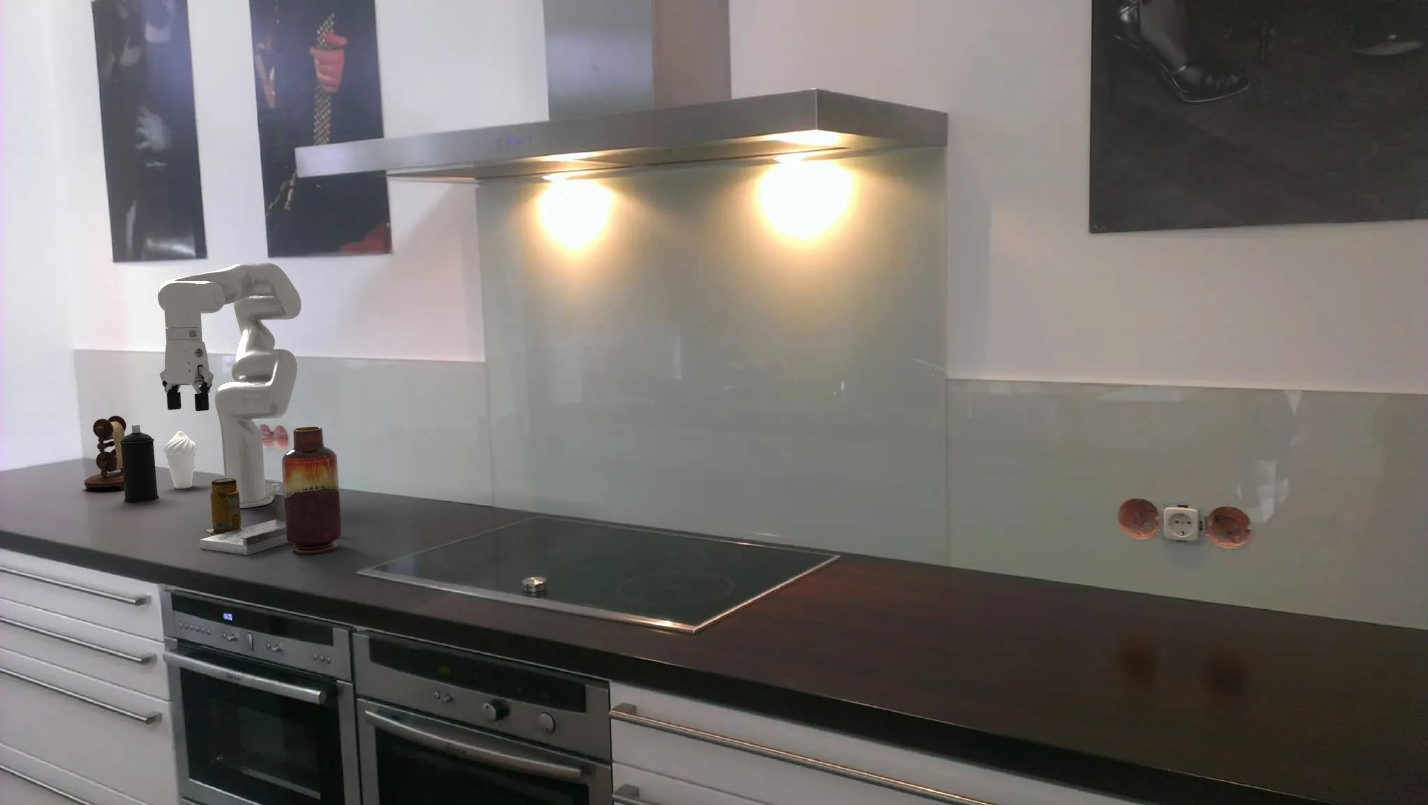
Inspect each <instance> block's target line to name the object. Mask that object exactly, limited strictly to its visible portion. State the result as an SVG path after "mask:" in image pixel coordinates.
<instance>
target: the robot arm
mask: <svg viewBox="0 0 1428 805" xmlns="http://www.w3.org/2000/svg"><path fill="white" fill-rule="evenodd" d="M157 300H158V301H157V302H158V305H159V306H160V308H161V309H162V310H163V311H164V323H165V324H164V325H165V326H164V327H165V331H164V332H165V352H164V370H163V371H161V372H160V373H159V377H160V380H161V381H162V383H161V385H162V386H163V388H164V393H166V406H167V408H166V409H167V410H168V411H174V410H181V409H182V396H181V391H179V390H180V388H181V387H182V386H192V388H193V389H194V391H195V393H194V409H195V411H196V412H206V411H209V410H210V399H209V397H210V396H209V394H210V393H211V387H212V386H213V381H214V378H215V375H214V373H213V372H211V371H210V365H209V364H210V363H209V356H208V351H207V348H206V344H205V341H203V332H202V331H203V328H202V327H203V326H202V325H203V324H202V314H213V313H217V312H219V311H220V310H222V308H223V307H224V306H225V305H231V304H233V309H234V315H235V318H236V321H237V324H238V328H239V331H240V340H239V344H238V347H237V350H236V353H235V356H234V360H233V362H232V365H231V377H232V379H233V381H231V382H227V383H224V384H222V385H220V386H219V387H218V388H217V389H216V391H215V394H214V403H215V408H216V412H217V416H218V420H219V425H220V426H219V427H220V431H221V432H220V433H221V443H222V444H221V446H222V447H221V448H222V459H223V473H224V475H223V476H224V477H223V478H234V479H236V481H237V482H236V485H237V490H238V491H239V498H240V509H248V508H254V507H255V508H256V507H259V506H265V505H268V504H271V503H272V502H273V500H274V499H273V496H271V495H270V494H271V493H272V492H277V491H279V490H280V489H281V485H280V484H279V482H278V483H277V482H275V483H272V484H269V483H266V476H265V475H266V474H265V462H264V445H263V444H264V442H263V435H262V434H263V433H261V430H260V429H259V427H258V426H257V424H256V423H255V421H253V420H260V419H261V420H262V419H263V420H270V419H278V418H282V417H284V415H285V414H286V412H287V410H288V407H289V404H290V401H291V397H292V394H293V391H294V386H295V383H296V380H297V375H298V374H297V373H298V364H297V358H296V357H295V354H294V353H292V351H290V350H288V349H285V348H275V347H276V346H275V344H276V339H275V336H274V335H273V333H272V332H271V331H270V329H269V328H267V326H265V324H264V323H263V320H265V321H268V320H269V321H271V320H274V321H275V320H276V321H277V320H278V321H279V320H280V321H281V320H292V319H295V318H297V317H298V316H299V314H300V313H301V310H302V301H301V300H302V298H301V296H300V294H299V292H298V290H297V288H296V287H295V285H294V284H293V283H292V281H291V279H290V278H289V277H288V275H287V274H286V273H285V271H284V270H283V269H282V268H281V267H280V266H278V265H277V264H274V263H271V262H267V263H259V262H257V263H236V264H234V265H231V266H228V267H226V268H222V269H219V270H216V271H209V272H202V273H199V274H194V275H188V276H182V277H178V278H174V279H171V280H168V281H165V282H164V283H163V284H162V285H161V286H160V288H159V290H158V292H157Z"/></svg>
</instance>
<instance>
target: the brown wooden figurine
mask: <svg viewBox="0 0 1428 805" xmlns="http://www.w3.org/2000/svg"><path fill="white" fill-rule="evenodd" d="M126 430H127V422H126V420H125V419H124V418H123V417H121V416H120V415H112V416H110V417H109V418H108V419H107V418H99V419H97V420H96V421H94V422H93V425H92V432H93V434H94V435H95V436H96V437H97V438H98V439H97V441H98V443H97V445H96V447H97V450H98V452H100V453H98V454H97V456H96V458H95V463H96V466H97V468H98V469H99V470H101V471H100V473H97V474H94V475H91V476H89V477H88V478H87V479H85V480H83V482H84V483H83V485H84V486H85V489H86V490H87V491H91V488H111V487H119V489H120V490H121V491H124V479H123V467H122V454H121V444H120V443H119V442H120V441H121V440H122V439H123V438H124V437H125V436H126V434H125V431H126ZM110 447H111V448H113V447H114V448H113V449H112V450H110V452H109V451H107V450H106V449H108V448H110Z"/></svg>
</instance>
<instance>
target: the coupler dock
mask: <svg viewBox="0 0 1428 805" xmlns="http://www.w3.org/2000/svg"><path fill="white" fill-rule="evenodd" d="M273 496H274V499H273V500H274V509H275V510H274V511H275V519H271V520H269V521H264V522H259V523H257V524H253V525H249V526H246V527H242V528H241V529H238V530H234V531H230V532H226V533H223V534H219V535H212V536H211V535H210V536H208V537H203V538H201V539H199V546H200V547H199V549H201V550H209V551H216V552H224V553H230V554H238V555H246V556H247V555H251V554H254V553H258V552H262V551H266V550H268V549H272V548H275V546H276V547H279V546H282V545H286V544H289V543H290V542H289V541H288V540H287V534H286V521H285V506H284V492H283V493H281V492H278V493H274V494H273Z"/></svg>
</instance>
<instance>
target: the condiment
mask: <svg viewBox="0 0 1428 805" xmlns="http://www.w3.org/2000/svg"><path fill="white" fill-rule="evenodd" d="M236 482H237V481H236V479H234V478H225V477H223V478H217V479H214V480H212V481H211V493H210V507H211V520H212V522H211V523H212V528H211V529H210V528H209V529H206V531H207V532H208V533H209V534H212V536H215V535H219V534H223V533H226V532H230V531H234V530H238V529H241V528H243V527H242V513H241V508H240V498H239V491H238V490H237V485H236Z"/></svg>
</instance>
